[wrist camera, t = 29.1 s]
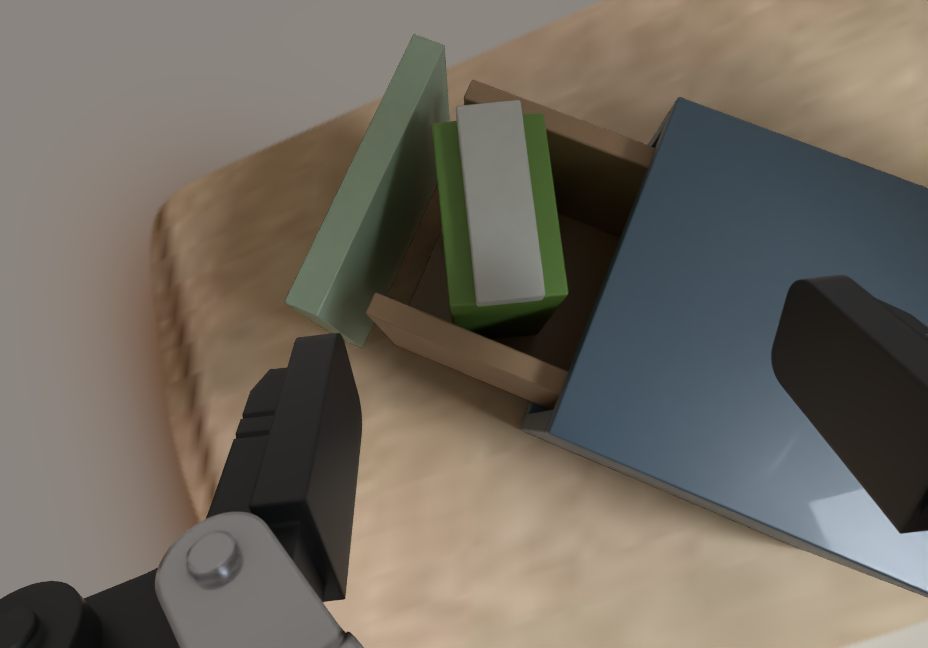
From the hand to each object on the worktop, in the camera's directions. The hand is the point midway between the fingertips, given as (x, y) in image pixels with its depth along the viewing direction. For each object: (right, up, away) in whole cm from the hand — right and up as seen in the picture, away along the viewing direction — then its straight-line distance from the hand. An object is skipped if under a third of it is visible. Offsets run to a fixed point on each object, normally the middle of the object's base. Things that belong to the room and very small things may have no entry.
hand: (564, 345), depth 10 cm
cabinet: (+9, -2, +16) cm, 19 cm away
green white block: (-1, +3, +15) cm, 15 cm away
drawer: (0, +2, +16) cm, 16 cm away
